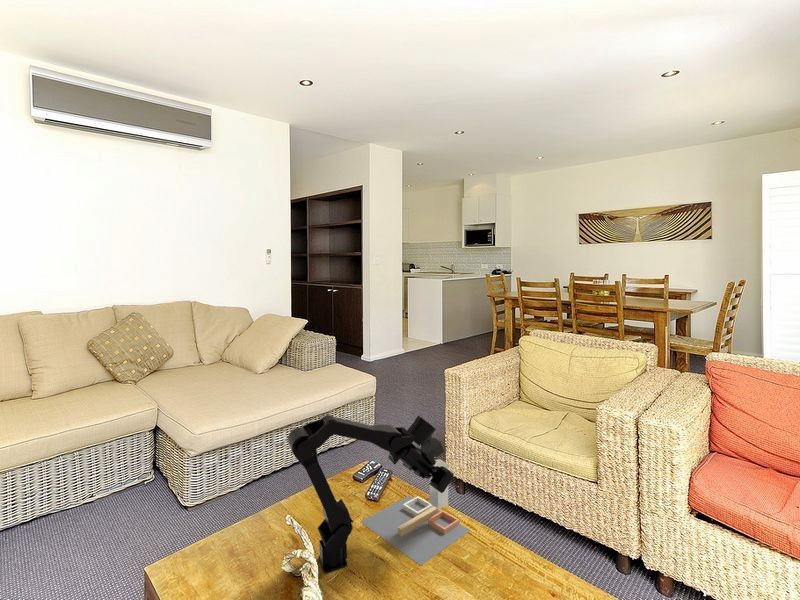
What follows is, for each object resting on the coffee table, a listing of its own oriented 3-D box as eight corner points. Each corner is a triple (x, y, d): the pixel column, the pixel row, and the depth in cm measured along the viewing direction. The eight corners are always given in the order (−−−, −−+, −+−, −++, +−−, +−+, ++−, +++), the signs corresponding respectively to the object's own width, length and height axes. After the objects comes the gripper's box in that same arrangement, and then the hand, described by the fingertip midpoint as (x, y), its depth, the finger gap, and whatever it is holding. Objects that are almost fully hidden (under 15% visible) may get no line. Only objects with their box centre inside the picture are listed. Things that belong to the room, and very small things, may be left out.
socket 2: (444, 534, 127) (444, 529, 127) (427, 524, 132) (427, 519, 132) (459, 524, 131) (459, 519, 131) (442, 514, 136) (442, 510, 136)
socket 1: (417, 517, 135) (417, 513, 135) (402, 508, 140) (402, 504, 140) (432, 509, 139) (432, 504, 139) (417, 500, 144) (417, 496, 144)
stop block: (438, 509, 130) (438, 467, 129) (429, 503, 133) (429, 462, 132) (448, 504, 132) (448, 463, 131) (439, 498, 136) (439, 458, 134)
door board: (420, 570, 114) (420, 558, 114) (360, 526, 134) (359, 515, 133) (470, 535, 129) (470, 524, 128) (409, 499, 148) (409, 489, 147)
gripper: (448, 444, 120) (477, 471, 127) (410, 423, 136) (438, 448, 143) (425, 479, 117) (456, 505, 124) (389, 453, 133) (418, 478, 140)
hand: (442, 482), depth 133 cm, fingers closed on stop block, 4 cm apart
